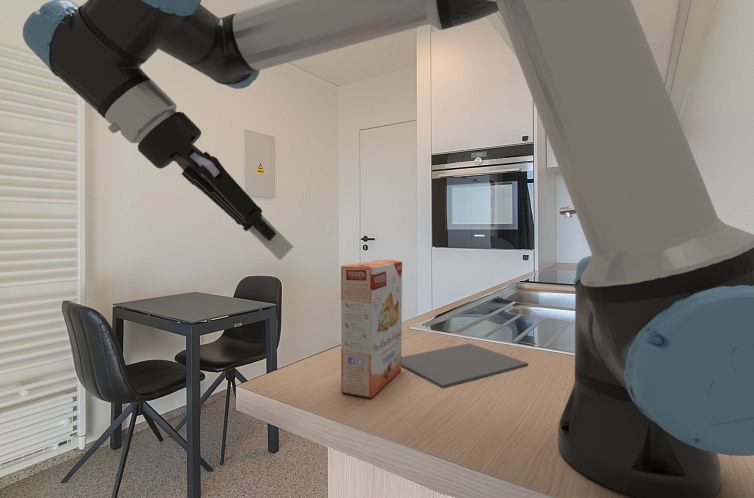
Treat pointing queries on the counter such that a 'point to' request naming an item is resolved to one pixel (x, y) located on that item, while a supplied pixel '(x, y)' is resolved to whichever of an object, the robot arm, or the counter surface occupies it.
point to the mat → (459, 364)
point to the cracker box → (370, 325)
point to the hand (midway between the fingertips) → (285, 252)
